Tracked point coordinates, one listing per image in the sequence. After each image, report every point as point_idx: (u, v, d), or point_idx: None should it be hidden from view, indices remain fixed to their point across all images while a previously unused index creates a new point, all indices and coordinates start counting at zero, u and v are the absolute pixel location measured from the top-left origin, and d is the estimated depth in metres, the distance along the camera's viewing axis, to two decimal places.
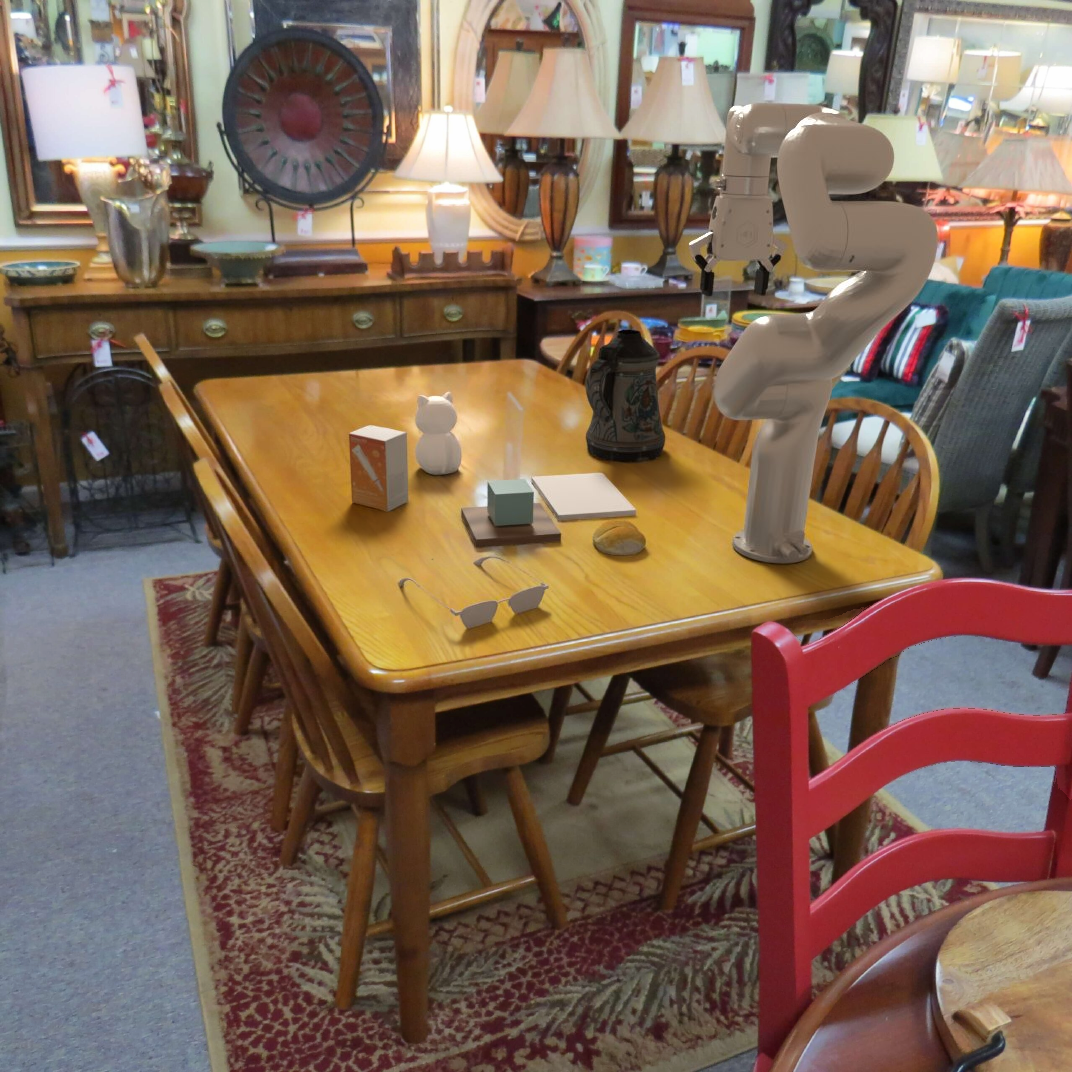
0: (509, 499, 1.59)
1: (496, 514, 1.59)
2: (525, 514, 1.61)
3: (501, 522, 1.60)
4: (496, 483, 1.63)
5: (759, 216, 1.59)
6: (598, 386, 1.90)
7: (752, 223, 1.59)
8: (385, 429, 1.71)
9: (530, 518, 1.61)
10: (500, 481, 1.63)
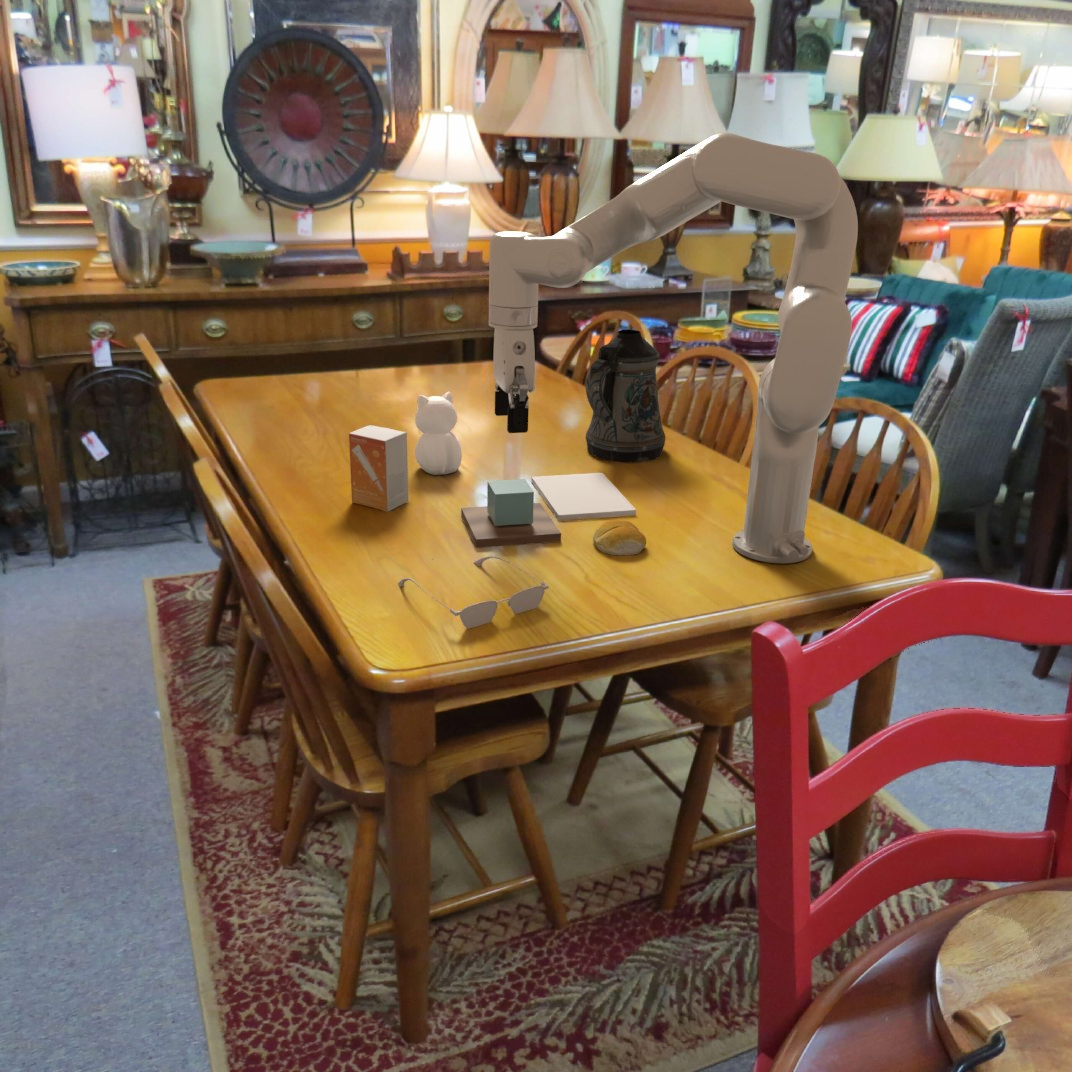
0: (509, 499, 1.59)
1: (496, 514, 1.59)
2: (525, 514, 1.61)
3: (501, 522, 1.60)
4: (496, 483, 1.63)
5: None
6: (598, 386, 1.90)
7: None
8: (385, 429, 1.71)
9: (530, 518, 1.61)
10: (500, 481, 1.63)
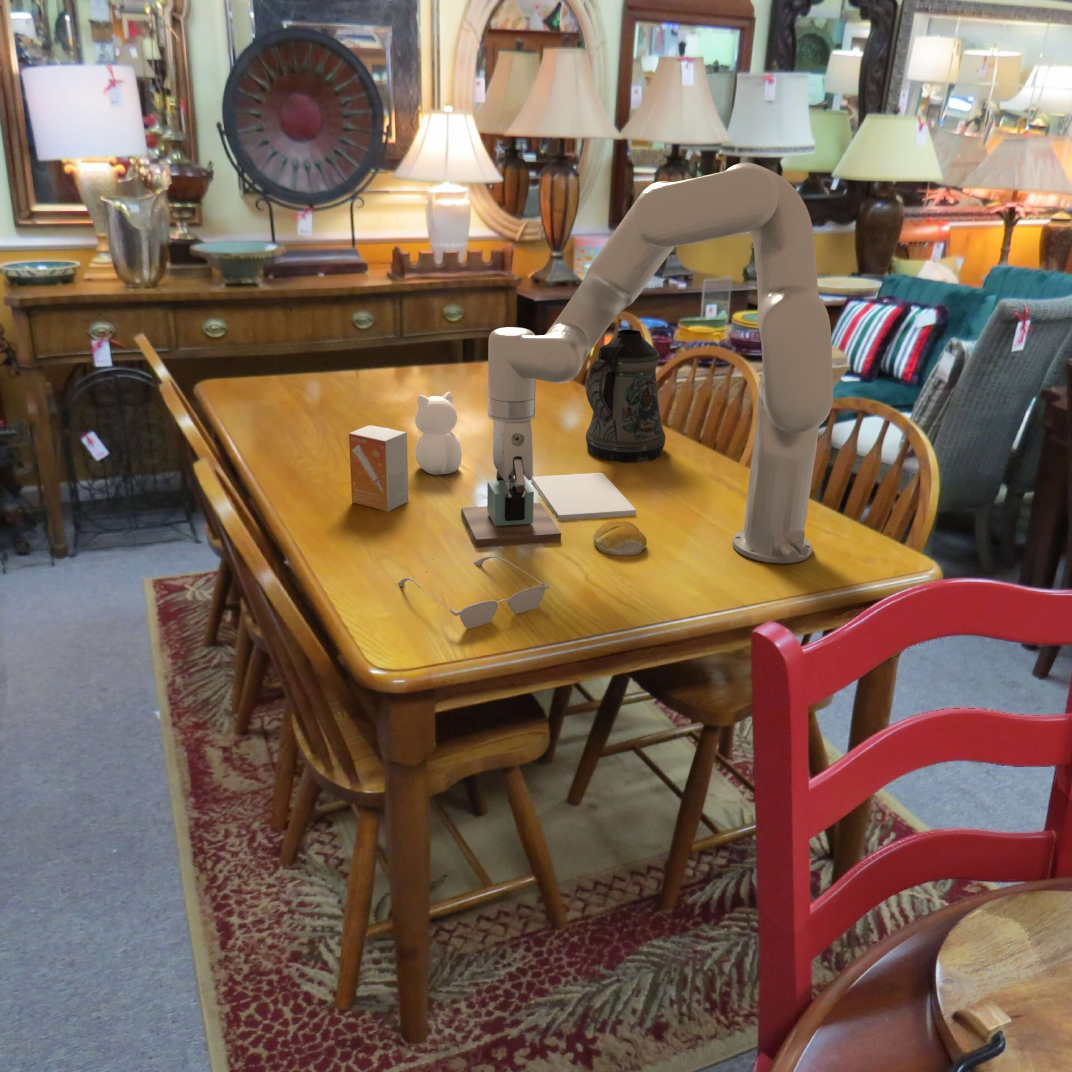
0: None
1: (496, 514, 1.59)
2: (525, 514, 1.61)
3: (501, 522, 1.60)
4: (496, 483, 1.63)
5: None
6: (598, 386, 1.90)
7: None
8: (385, 429, 1.71)
9: (530, 518, 1.61)
10: (500, 481, 1.63)
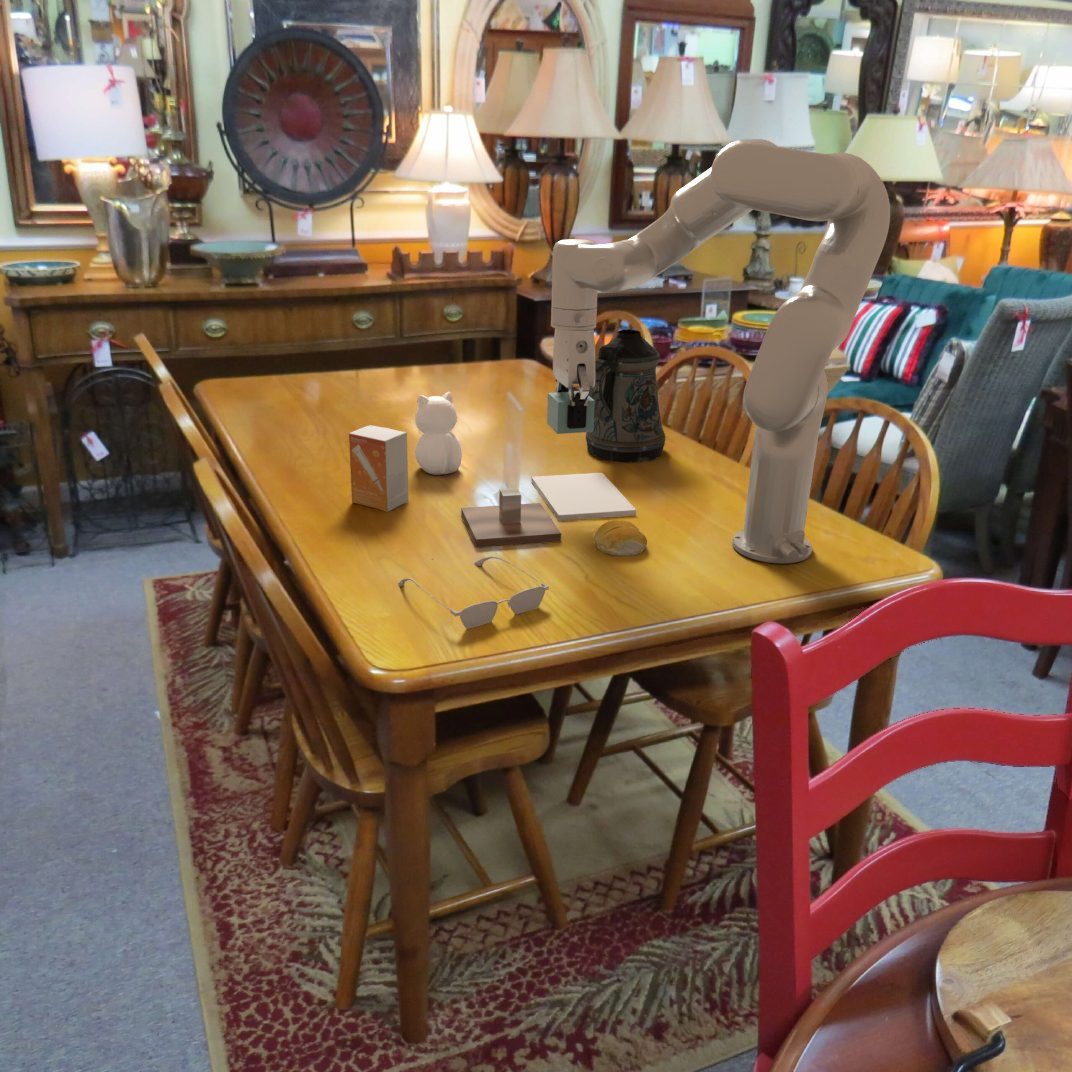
0: None
1: (559, 422, 1.66)
2: (586, 422, 1.67)
3: (563, 430, 1.66)
4: (556, 394, 1.69)
5: None
6: (598, 386, 1.90)
7: None
8: (385, 429, 1.71)
9: (590, 426, 1.67)
10: (560, 393, 1.70)
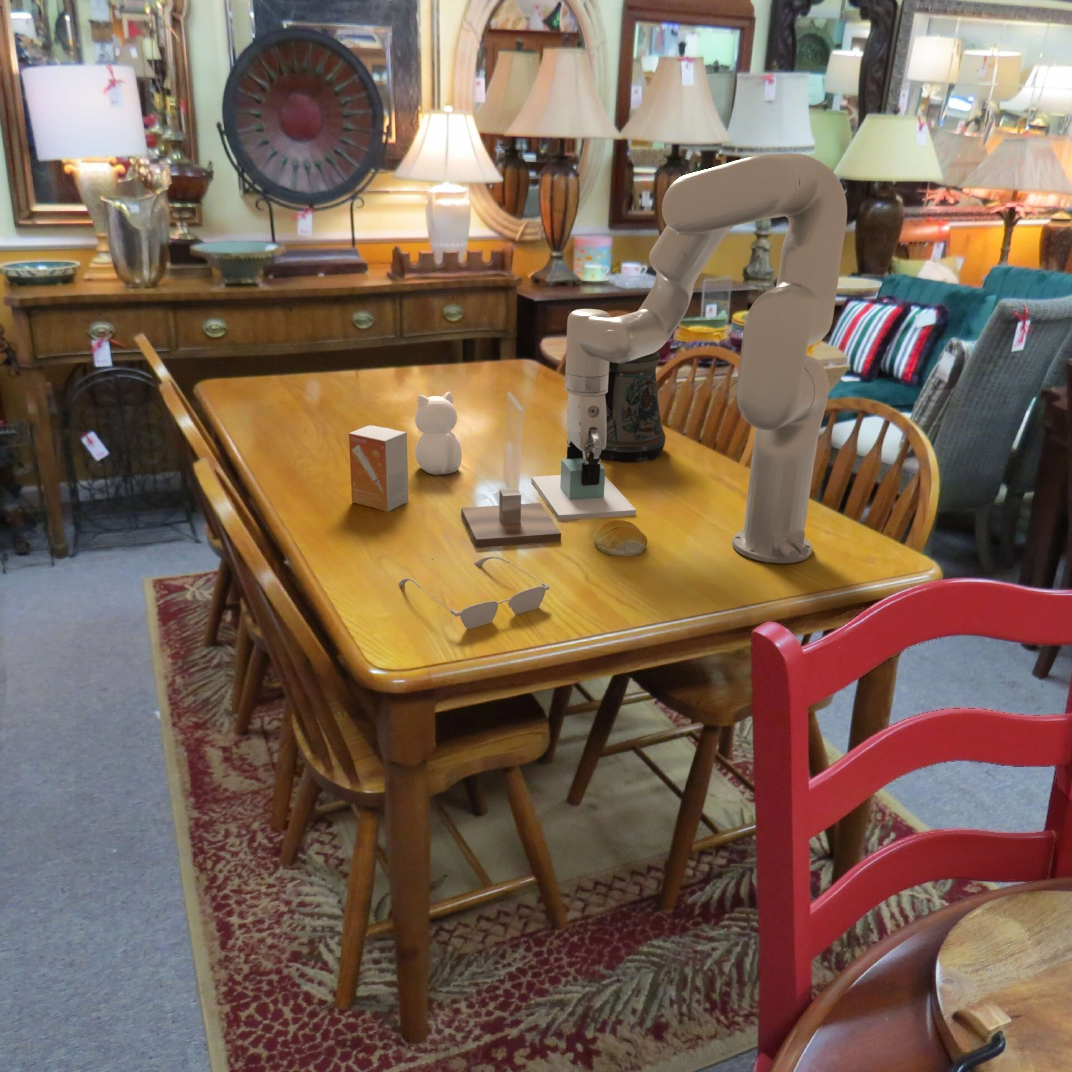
0: None
1: (571, 489, 1.74)
2: (597, 489, 1.75)
3: (575, 496, 1.75)
4: (569, 461, 1.77)
5: None
6: None
7: None
8: (385, 429, 1.71)
9: (601, 493, 1.76)
10: (573, 460, 1.78)
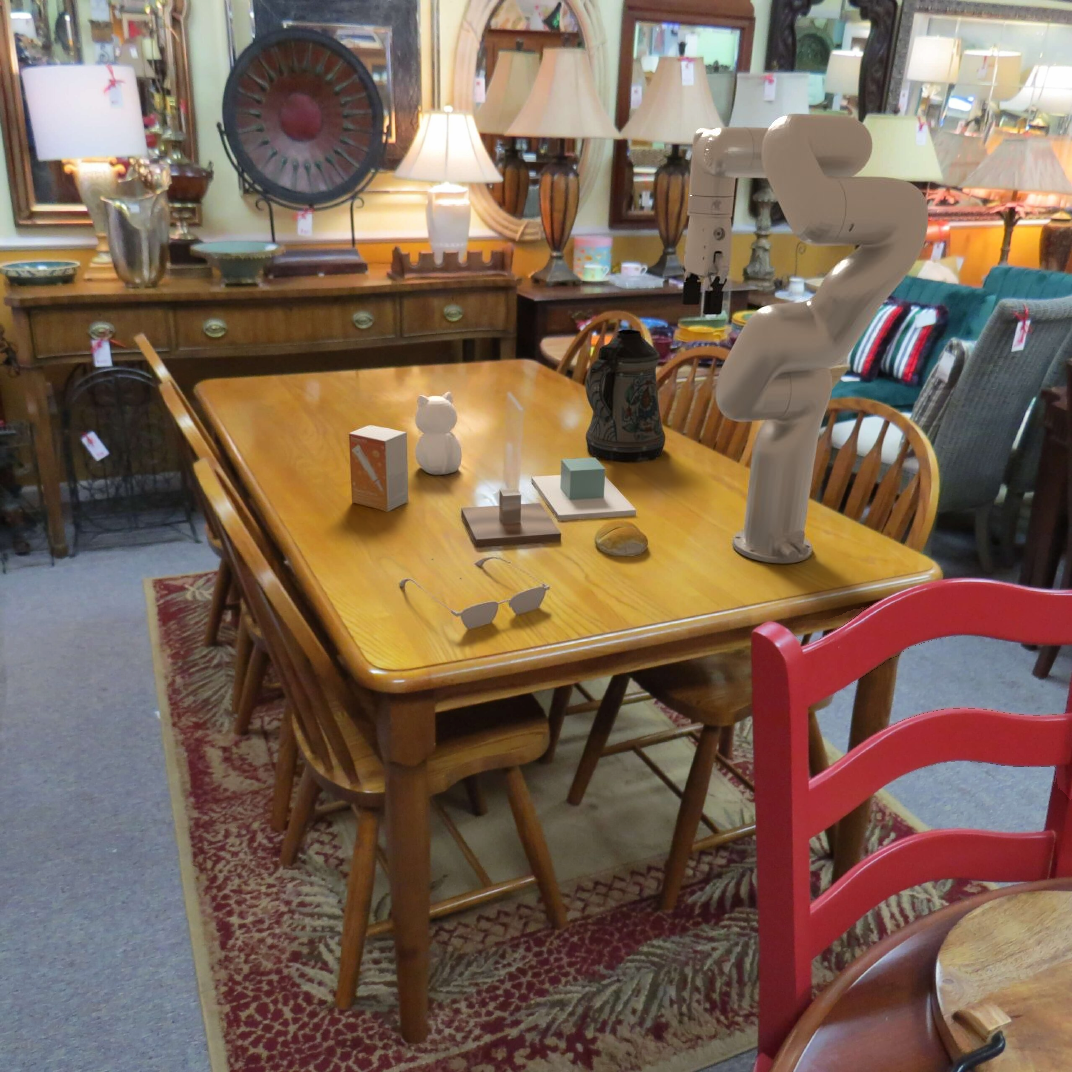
0: (583, 475, 1.74)
1: (571, 489, 1.74)
2: (597, 489, 1.75)
3: (575, 496, 1.75)
4: (569, 461, 1.77)
5: None
6: (598, 386, 1.90)
7: None
8: (385, 429, 1.71)
9: (601, 493, 1.76)
10: (573, 460, 1.78)
